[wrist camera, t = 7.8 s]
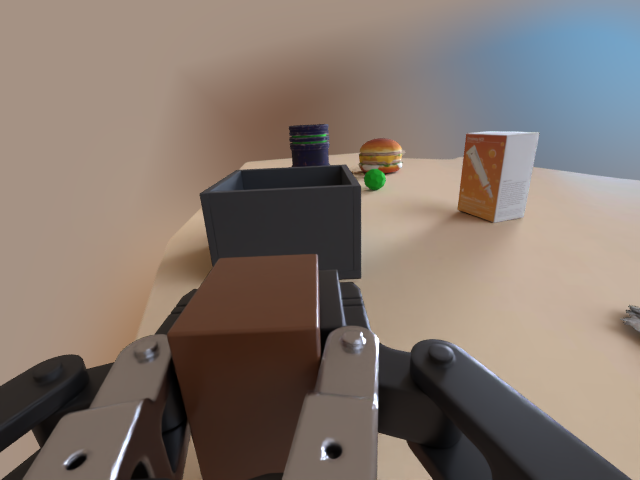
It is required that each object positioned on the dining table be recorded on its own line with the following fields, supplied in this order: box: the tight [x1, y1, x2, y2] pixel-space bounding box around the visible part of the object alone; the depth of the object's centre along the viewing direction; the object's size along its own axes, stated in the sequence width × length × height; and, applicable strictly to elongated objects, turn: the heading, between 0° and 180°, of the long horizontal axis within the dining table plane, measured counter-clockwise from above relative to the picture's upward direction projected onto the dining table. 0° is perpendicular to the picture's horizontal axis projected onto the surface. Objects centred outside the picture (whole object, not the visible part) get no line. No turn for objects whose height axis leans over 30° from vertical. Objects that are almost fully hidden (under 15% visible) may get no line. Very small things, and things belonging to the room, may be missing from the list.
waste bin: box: [200, 165, 361, 279], centre depth 40 cm, size 16×16×10 cm
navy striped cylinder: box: [289, 124, 330, 167], centre depth 81 cm, size 10×10×15 cm
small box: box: [458, 131, 539, 223], centre depth 52 cm, size 8×6×13 cm
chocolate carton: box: [167, 254, 322, 480], centre depth 11 cm, size 3×4×12 cm
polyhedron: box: [364, 169, 386, 190], centre depth 76 cm, size 5×5×5 cm
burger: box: [359, 138, 403, 173], centre depth 98 cm, size 13×14×10 cm
